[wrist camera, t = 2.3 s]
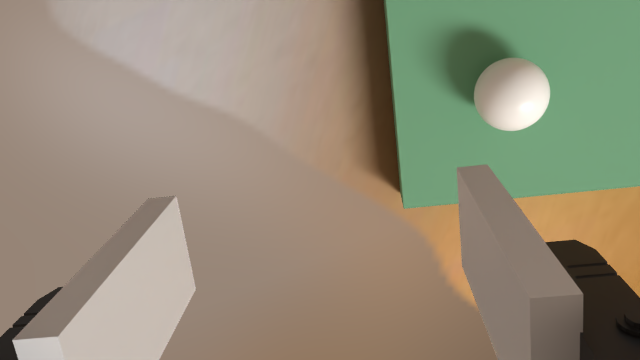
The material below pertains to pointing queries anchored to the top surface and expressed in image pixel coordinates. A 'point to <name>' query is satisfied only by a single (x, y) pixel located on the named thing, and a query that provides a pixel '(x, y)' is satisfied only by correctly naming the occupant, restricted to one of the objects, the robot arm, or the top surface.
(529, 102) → the golf ball
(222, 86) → the top surface
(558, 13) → the putting board
